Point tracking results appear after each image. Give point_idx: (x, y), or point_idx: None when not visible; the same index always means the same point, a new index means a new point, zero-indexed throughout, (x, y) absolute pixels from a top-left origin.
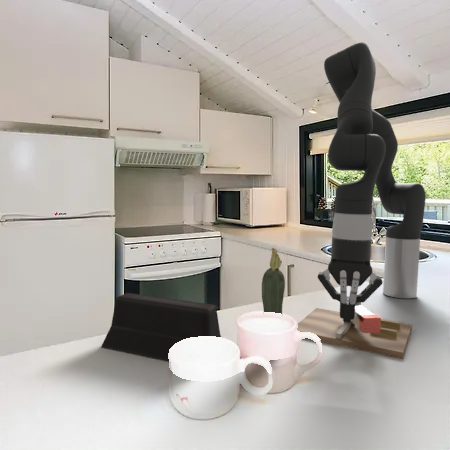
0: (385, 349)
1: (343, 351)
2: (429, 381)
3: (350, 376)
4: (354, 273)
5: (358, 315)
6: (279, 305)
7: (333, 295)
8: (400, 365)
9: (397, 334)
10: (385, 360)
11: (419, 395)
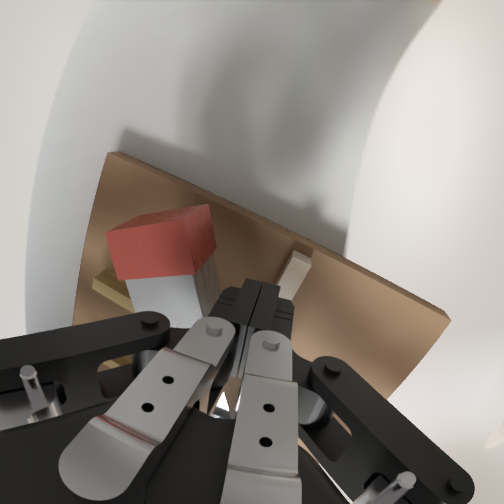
0: (151, 171)
1: (297, 182)
2: (103, 31)
3: (310, 2)
4: (114, 485)
5: (200, 295)
6: None
7: (340, 377)
8: (137, 102)
9: (100, 300)
10: (169, 128)
11: None
